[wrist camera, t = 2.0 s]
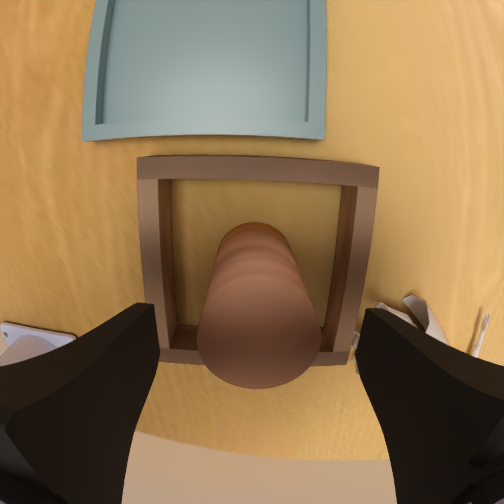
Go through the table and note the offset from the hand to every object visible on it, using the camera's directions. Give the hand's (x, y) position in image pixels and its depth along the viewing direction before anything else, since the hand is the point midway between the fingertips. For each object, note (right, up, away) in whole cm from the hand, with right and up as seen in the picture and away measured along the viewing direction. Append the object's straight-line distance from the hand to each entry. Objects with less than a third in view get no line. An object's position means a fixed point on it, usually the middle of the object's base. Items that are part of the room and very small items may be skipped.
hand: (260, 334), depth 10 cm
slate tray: (-3, +15, +3) cm, 16 cm away
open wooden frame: (0, +2, +7) cm, 7 cm away
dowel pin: (0, +2, +7) cm, 7 cm away
